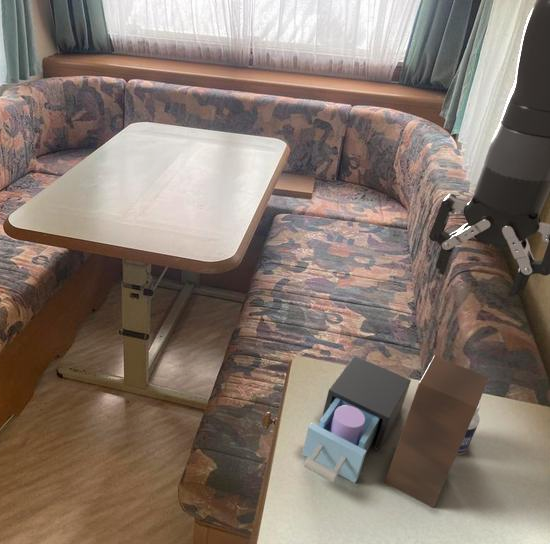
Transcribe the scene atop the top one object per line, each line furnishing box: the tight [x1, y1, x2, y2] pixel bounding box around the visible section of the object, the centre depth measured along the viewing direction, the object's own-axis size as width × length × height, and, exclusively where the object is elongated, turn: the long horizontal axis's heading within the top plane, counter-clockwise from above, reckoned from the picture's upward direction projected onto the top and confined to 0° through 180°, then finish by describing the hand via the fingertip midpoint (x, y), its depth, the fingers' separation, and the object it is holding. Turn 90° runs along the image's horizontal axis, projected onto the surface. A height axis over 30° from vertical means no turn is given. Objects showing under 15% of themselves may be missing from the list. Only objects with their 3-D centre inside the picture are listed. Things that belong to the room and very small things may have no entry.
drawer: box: [301, 397, 382, 484], centre depth 85 cm, size 14×8×6 cm, turn 145°
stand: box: [384, 355, 489, 509], centre depth 79 cm, size 7×7×20 cm
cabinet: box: [321, 355, 412, 450], centre depth 93 cm, size 11×10×8 cm
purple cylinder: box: [330, 405, 365, 446], centre depth 86 cm, size 4×4×6 cm
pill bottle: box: [456, 401, 481, 456], centre depth 88 cm, size 5×5×10 cm
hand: (476, 283), depth 75 cm, fingers open, 8 cm apart
